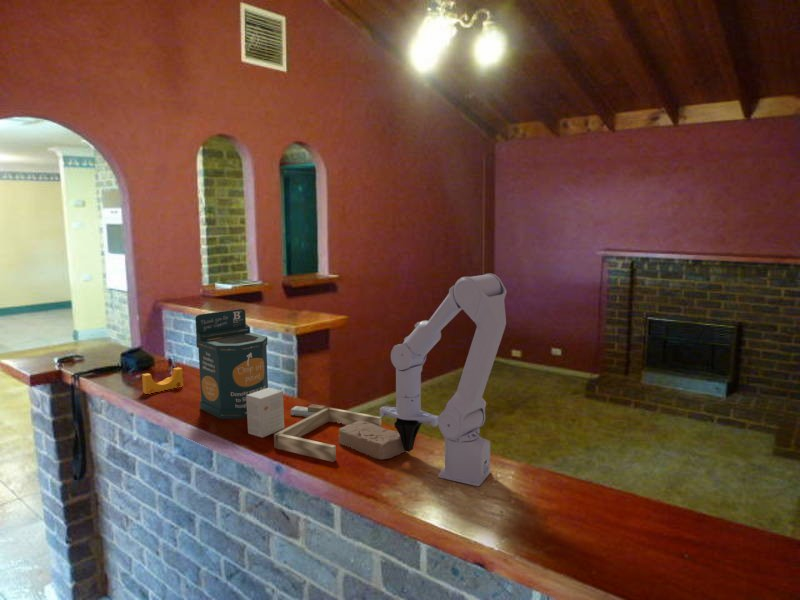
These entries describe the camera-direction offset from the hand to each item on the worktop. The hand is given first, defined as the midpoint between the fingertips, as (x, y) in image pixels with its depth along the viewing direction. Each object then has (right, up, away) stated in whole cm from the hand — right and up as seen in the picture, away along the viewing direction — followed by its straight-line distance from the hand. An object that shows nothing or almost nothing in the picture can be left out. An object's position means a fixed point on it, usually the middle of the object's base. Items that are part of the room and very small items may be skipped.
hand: (408, 449), depth 135 cm
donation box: (-49, +3, +34) cm, 60 cm away
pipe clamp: (-80, +6, +52) cm, 95 cm away
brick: (-9, -1, +5) cm, 10 cm away
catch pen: (-19, 0, +10) cm, 22 cm away
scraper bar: (-28, +2, +28) cm, 39 cm away
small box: (-37, 0, +16) cm, 40 cm away
